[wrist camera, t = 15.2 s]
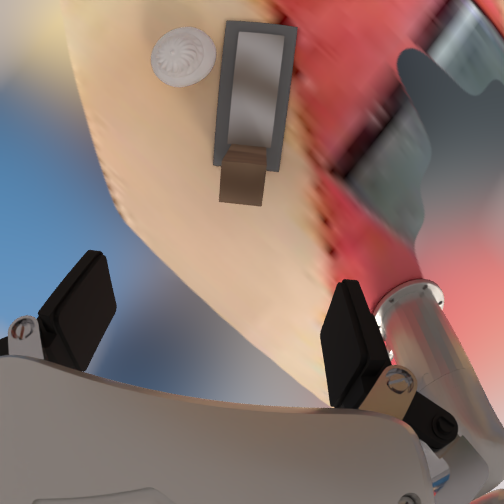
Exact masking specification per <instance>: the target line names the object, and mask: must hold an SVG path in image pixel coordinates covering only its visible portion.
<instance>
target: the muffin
mask: <svg viewBox="0 0 504 504" xmlns="http://www.w3.org/2000/svg"><path fill="white" fill-rule="evenodd" d="M215 60H216V48H215V45H214V43H213V41H212V39H211V38H210V37H209V36H208V35H207V34H206V33H205V32H203V31H201V30H200V29H197V28H194V27H180V28H176V29H174V30H171V31H169V32H168V33H166V34H165V35H163V36H162V37H161V38H160V39H159V40H158V42H157V43H156V45H155V46H154V48H153V51H152V54H151V65H152V69H153V71H154V73H155V75H156V76H157V77H158V78H159V79H160V80H161V81H162V82H164V83H165V84H167V85H170V86H173V87H186V86H190V85H192V84H195V83H197V82H199V81H201V80H202V79H203V78H205V77H206V76H207V75H208V74H209V73H210V71H211V70H212V68H213V66H214V63H215Z"/></svg>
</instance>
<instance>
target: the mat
mask: <svg viewBox="0 0 504 504" xmlns="http://www.w3.org/2000/svg"><path fill="white" fill-rule="evenodd" d="M297 28H298V27H292V26H285V25H278V24H269V23H258V22H245V21H227V22H226V30H225V38H224V46H223V55H222V65H221V75H220V85H219V96H218V107H217V119H216V132H215V146H214V161H213V165H215V166H221V165H222V160H223V158H224V156H225V155H226V153H227V151H228V150H229V148H230V146H231V144H227V143H228V131H229V120H230V109H231V99H232V89H233V79H234V70H235V61H236V52H237V44H238V35H239V32H251V33H263V34H272V35H280V36H285V37H284V45H283V54H282V62H281V70H280V78H279V86H278V94H277V102H276V110H275V118H274V126H273V134H272V141H271V148H266V158H267V167H266V171H274V172H279V167H280V160H281V153H282V145H283V138H284V131H285V123H286V116H287V108H288V101H289V93H290V85H291V77H292V69H293V61H294V53H295V45H296V37H297Z"/></svg>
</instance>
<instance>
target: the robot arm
mask: <svg viewBox="0 0 504 504" xmlns="http://www.w3.org/2000/svg"><path fill="white" fill-rule="evenodd" d="M443 305H444V295H443V292H442V290H441V289H440V288H439V286H438V285H437V284H436V283H434V282H433V281H430V280H426V279H416V280H412V281H408V282H406V283H403V284H401V285H399V286H398V287H396V288H394V289H393V290H391V291H390V292H389V293H388V294H387V295H386V296H384V297H383V298H382V300H381V301H380V302H379V303H378V305H377V307H376V308H375V310H374V313H373V314H371V313H370V310H369V308H368V305H367V302H366V300H365V297H364V294H363V292H362V289H361V287H360V284H359V282H358V281H357V280H348V279H344V280H343V281H342V283H340V282H339V283H338V284H337V286H336V289H335V292H334V295H333V298H332V301H331V304H330V307H329V310H328V312H327V315H326V318H325V321H324V324H323V326H322V329H321V333H320V339H321V345H322V352H323V358H324V365H325V371H326V378H327V385H328V392H329V400H330V405H331V407H334V408H302V407H281V406H264V405H252V404H241V403H231V402H223V401H214V400H207V399H200V398H194V397H188V396H182V395H176V394H170V393H165V392H160V391H156V390H151V389H146V388H141V387H137V386H133V385H129V384H125V383H121V382H117V381H113V380H109V379H105V378H102V377H98V376H95V375H92V374H88V373H85V372H84V371H85V370H86V369H87V367H88V365H89V363H90V361H91V359H92V357H93V355H94V353H95V351H96V349H97V347H98V345H99V343H100V341H101V339H102V337H103V335H104V333H105V331H106V329H107V327H108V325H109V324H110V322H111V320H112V318H113V316H114V314H115V312H116V308H117V307H116V301H115V297H114V293H113V288H112V283H111V279H110V274H109V269H108V264H107V259H106V257H105V256H104V255H103V253H102V252H101V251H94V250H88V251H87V252H86V253H85V254H84V256H83V257H82V258H81V259H80V260H79V261H78V263H77V264H76V265H75V266H74V267H73V268H72V270H71V271H70V272H69V273H68V274H67V276H66V277H65V278H64V279H63V281H62V282H61V283H60V284H59V286H58V287H57V288H56V289H55V291H54V292H53V293H52V294H51V296H50V297H49V298H48V300H47V301H46V302H45V304H44V305H43V306H42V308H41V309H40V310H39V312H38V315H39V316H38V318H37V319H36V318H35V317H32V316H27V315H26V316H22V317H20V318H17V319H16V320H15V321H14V322H13V323H12V324H11V325H10V327H9V330H8V336H7V337H5V338H2V339H0V504H504V489H498V490H494V491H491V490H492V489H494V488H495V487H496V486H498V484H500V483H501V482H502V481H503V480H504V428H503V426H502V424H501V422H500V421H499V419H498V417H497V415H496V414H495V412H494V410H493V408H492V406H491V404H490V403H489V400H488V398H487V396H486V394H485V392H484V390H483V388H482V386H481V384H480V382H479V380H478V377H477V375H476V373H475V371H474V369H473V367H472V365H471V363H470V361H469V359H468V357H467V355H466V353H465V351H464V349H463V347H462V345H461V343H460V341H459V339H458V337H457V336H456V334H455V332H454V330H453V328H452V326H451V325H450V323H449V321H448V319H447V318H446V316H445V314H444V312H443V311H442V309H443ZM384 341H386V344H387V345H386V346H385V343H384ZM393 356H394V359H395V361H396V364H397V365H392V364H391V360H392V359H393ZM82 371H83V372H82ZM489 491H491V492H489ZM488 492H489V493H488ZM486 493H487V494H486ZM484 494H485V495H484Z"/></svg>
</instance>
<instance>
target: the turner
mask: <svg viewBox="0 0 504 504" xmlns="http://www.w3.org/2000/svg"><path fill="white" fill-rule="evenodd" d="M284 37H285V36H280V35H272V34H263V33H251V32H239V35H238V44H237V52H236V61H235V70H234V79H233V89H232V99H231V109H230V120H229V131H228V143H227V144H231V146H230V148H229V150H228V151H227V153H226V155H225V156H224V158H223V160H222V165H221V179H220V194H219V202H225V203H235V204H244V205H253V206H262V198H263V191H264V183H265V175H266V167H267V158H266V148H271V141H272V134H273V126H274V118H275V110H276V102H277V94H278V86H279V78H280V70H281V62H282V54H283V45H284Z"/></svg>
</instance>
